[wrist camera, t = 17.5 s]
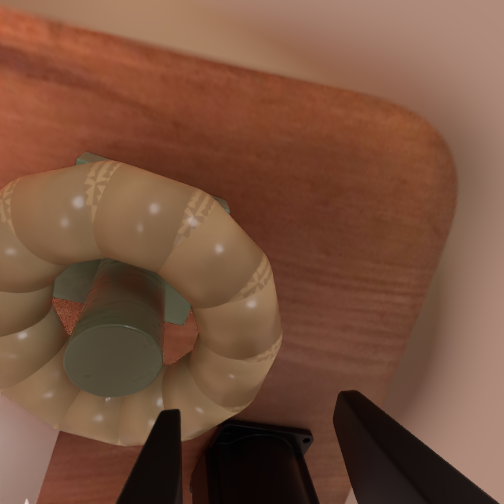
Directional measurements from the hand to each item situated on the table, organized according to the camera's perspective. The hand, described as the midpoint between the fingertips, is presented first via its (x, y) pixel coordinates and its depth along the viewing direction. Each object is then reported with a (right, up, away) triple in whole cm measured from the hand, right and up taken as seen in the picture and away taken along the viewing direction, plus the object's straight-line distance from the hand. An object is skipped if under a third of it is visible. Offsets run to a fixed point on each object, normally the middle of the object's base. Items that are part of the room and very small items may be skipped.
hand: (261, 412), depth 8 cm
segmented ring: (-4, +2, +3) cm, 5 cm away
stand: (-5, +4, +8) cm, 11 cm away
